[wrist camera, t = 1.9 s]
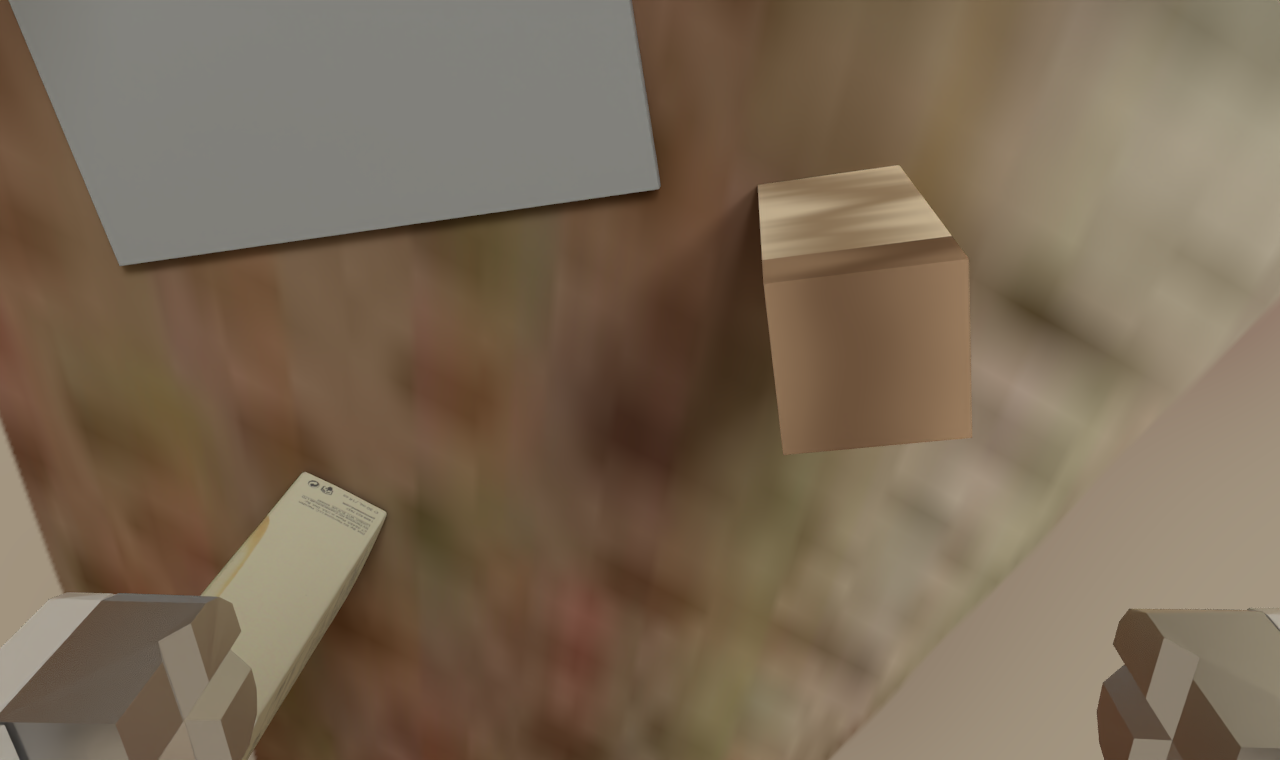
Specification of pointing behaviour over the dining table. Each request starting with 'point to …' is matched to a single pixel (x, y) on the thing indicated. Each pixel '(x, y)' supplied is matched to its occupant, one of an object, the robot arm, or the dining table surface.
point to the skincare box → (294, 583)
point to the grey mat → (337, 112)
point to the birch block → (864, 313)
